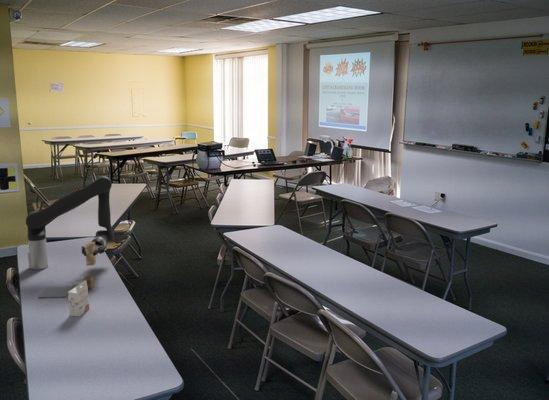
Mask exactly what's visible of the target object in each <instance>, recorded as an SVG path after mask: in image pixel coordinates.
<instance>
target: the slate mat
mask: <svg viewBox="0 0 549 400" xmlns="http://www.w3.org/2000/svg"><path fill="white" fill-rule="evenodd" d="M72 289H73V285H72V286H71V285H68V286H47V287H46V288H45V289H44V290H43V292H41V294H40V295H38V299H51V298H52V299H55V298H56V299H57V298H58V299H59V298H61V299H62V298H67V297H68V292H69V291H70V290H72Z"/></svg>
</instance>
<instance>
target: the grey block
mask: <svg viewBox="0 0 549 400" xmlns="http://www.w3.org/2000/svg"><path fill="white" fill-rule="evenodd" d="M84 281H86V280H82V279H76V280H75V281H74V282H73V284H72V286H73V289H74V288H75V287H76V286H78V285H79V284H81V283H82V282H84ZM81 286H83V285H81Z"/></svg>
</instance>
